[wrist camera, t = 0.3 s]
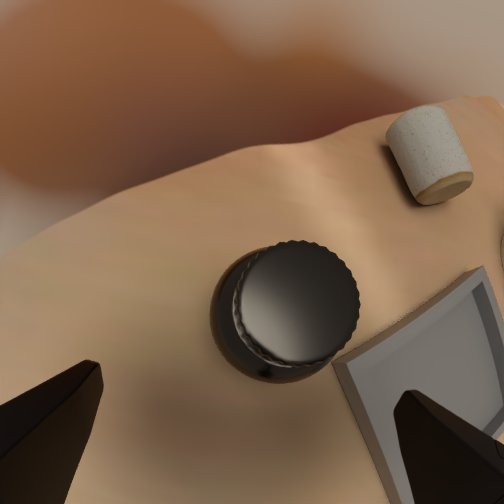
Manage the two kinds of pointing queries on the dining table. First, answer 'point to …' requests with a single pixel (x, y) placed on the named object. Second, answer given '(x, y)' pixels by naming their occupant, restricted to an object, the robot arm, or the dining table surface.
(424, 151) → the ceramic mug
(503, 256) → the reusable coffee cup
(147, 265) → the dining table surface
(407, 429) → the robot arm
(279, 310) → the supplement bottle
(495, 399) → the tray
